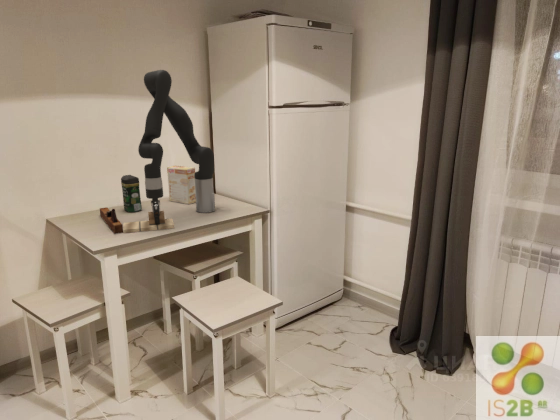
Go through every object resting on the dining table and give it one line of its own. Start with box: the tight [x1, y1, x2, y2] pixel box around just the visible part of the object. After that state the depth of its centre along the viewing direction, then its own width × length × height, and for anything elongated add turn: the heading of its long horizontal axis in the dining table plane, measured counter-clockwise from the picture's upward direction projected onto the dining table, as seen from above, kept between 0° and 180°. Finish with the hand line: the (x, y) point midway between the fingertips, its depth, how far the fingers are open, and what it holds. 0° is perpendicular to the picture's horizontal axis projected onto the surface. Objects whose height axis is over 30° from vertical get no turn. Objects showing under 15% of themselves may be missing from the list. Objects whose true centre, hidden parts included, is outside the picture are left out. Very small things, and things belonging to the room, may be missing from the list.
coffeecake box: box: [166, 165, 196, 205], centre depth 245 cm, size 15×7×20 cm, turn 58°
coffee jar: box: [120, 174, 143, 213], centre depth 228 cm, size 10×8×19 cm
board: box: [122, 217, 175, 234], centre depth 203 cm, size 22×11×2 cm, turn 108°
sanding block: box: [147, 210, 166, 225], centre depth 203 cm, size 7×4×5 cm, turn 107°
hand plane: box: [99, 207, 124, 235], centre depth 208 cm, size 34×5×10 cm, turn 34°
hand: (157, 222), depth 204 cm, fingers closed on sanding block, 4 cm apart
